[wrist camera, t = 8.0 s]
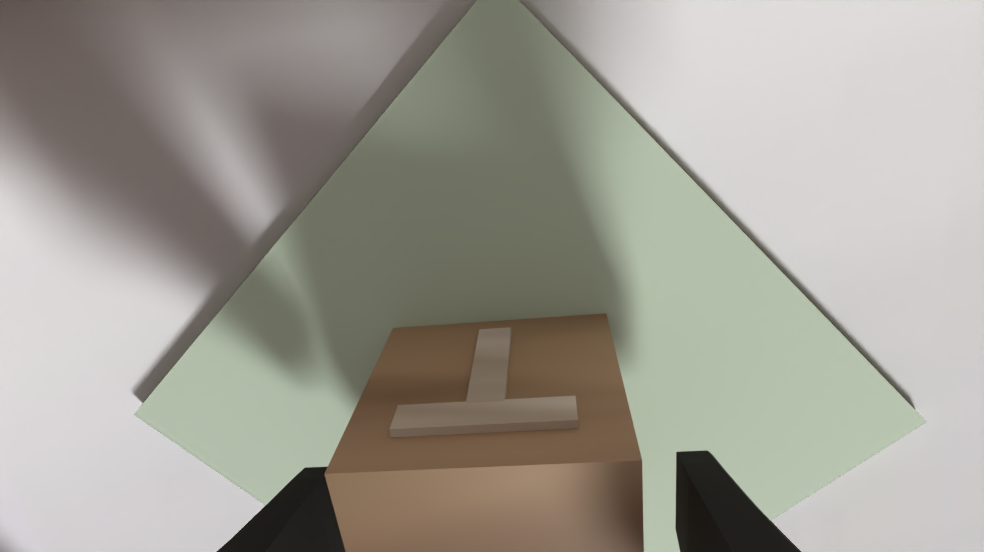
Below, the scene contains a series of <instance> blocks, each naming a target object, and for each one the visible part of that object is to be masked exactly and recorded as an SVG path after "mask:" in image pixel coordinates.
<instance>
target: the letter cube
mask: <svg viewBox="0 0 984 552" xmlns="http://www.w3.org/2000/svg"><path fill="white" fill-rule="evenodd" d="M325 478H326V482H327V485H328V489H329V493H330V496H331V500H332V504H333V507H334V511H335V515H336V518H337V522H338V526H339V529H340V533H341V537H342V540H343V544H344V548H345V551H346V552H644V531H643V476H642V457H641V453H640V449H639V445H638V441H637V437H636V433H635V429H634V425H633V421H632V417H631V412H630V408H629V404H628V400H627V396H626V392H625V388H624V384H623V380H622V376H621V372H620V368H619V363H618V359H617V355H616V351H615V347H614V343H613V339H612V335H611V331H610V327H609V323H608V318H607V314H606V313H604V314H590V315H575V316H560V317H546V318H531V319H517V320H502V321H487V322H473V323H458V324H444V325H429V326H414V327H400V328H393V329H392V331H391V333H390V335H389V337H388V340H387V342H386V344H385V346H384V348H383V350H382V352H381V354H380V357H379V359H378V361H377V363H376V365H375V367H374V369H373V372H372V374H371V376H370V378H369V380H368V382H367V384H366V386H365V389H364V391H363V393H362V395H361V397H360V399H359V401H358V403H357V406H356V408H355V410H354V412H353V414H352V416H351V418H350V420H349V423H348V425H347V427H346V429H345V431H344V433H343V435H342V437H341V440H340V442H339V444H338V446H337V448H336V450H335V452H334V454H333V457H332V459H331V461H330V463H329V465H328V467H327V469H326V471H325Z"/></svg>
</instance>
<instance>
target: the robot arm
mask: <svg viewBox="0 0 984 552" xmlns="http://www.w3.org/2000/svg"><path fill="white" fill-rule="evenodd" d="M326 469H327V467H306V468H304V469H303V470H302V471H301V472H299V473H298V474H297V475H296V476H295V477H294V478H293V479H292V480H291V481H290V482H289V483H288V484H287V485H286V486H285V487H284V488H283V489H282V490H281V491H280V492H279V493H278V494H277V495H276V496H275V497H274V498H273V499H272V500H271V501H270V502H269V503H268V504H267V505H266V506H265V507H264V508H263V509H262V510H261V511H260V512H259V513H258V514H257V515H255V516H254V517H253V518H252V519H251V520H250V521H249V522H248V523H247V524H246V525H245V526H244V527H243V528H242V529H241V530H240V531H239V532H238V533H237V534H236V535H235V536H234V537H233V538H232V539H231V540H229V541H228V542H227V543H226V544H225V545H224V546H223V547H222V548H221V549H219V550H218V551H217V552H346V551H345V548H344V544H343V540H342V537H341V533H340V529H339V526H338V522H337V518H336V515H335V511H334V507H333V504H332V500H331V496H330V493H329V489H328V485H327V482H326V478H325V471H326ZM675 529H676V534H677V539H678V543H679V548H680V552H801V551H800V550H799V549H798V548H797V547H796V546H795V545H794V544H793V543H792V542H791V541H790V540H789V539H788V538H787V537H786V536H785V535H784V534H783V533H782V532H781V531H780V530H779V529H778V528H777V527H776V526H775V525H774V524H773V523H772V522H771V521H770V520H769V518H768V517H767V516H766V515H765V514H764V513H763V512H762V511H761V510H760V509H759V508H758V507H757V506H756V505H755V504H754V502H753V501H752V500H751V499H750V498H749V497H748V496H747V495H746V494H745V492H744V491H743V490H742V489H741V488H740V487H739V486H738V484H737V483H736V482H735V481H734V480H733V479H732V477H731V476H730V475H729V474H728V473H727V472H726V470H725V469H724V468H723V467H722V466H721V464H720V463H719V462H718V461H717V459H716V458H715V457H714V456H713V455H712V454H711V453H710V452H709V451H708V450H704V451H681V452H676V526H675Z"/></svg>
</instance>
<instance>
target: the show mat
mask: <svg viewBox="0 0 984 552" xmlns="http://www.w3.org/2000/svg"><path fill="white" fill-rule="evenodd" d="M604 313H606V314H607V318H608V323H609V327H610V331H611V335H612V339H613V343H614V347H615V351H616V355H617V359H618V363H619V368H620V372H621V376H622V380H623V384H624V388H625V392H626V396H627V400H628V404H629V408H630V412H631V417H632V421H633V425H634V429H635V433H636V437H637V441H638V445H639V449H640V453H641V457H642V476H643V531H644V552H680V548H679V543H678V539H677V534H676V529H675V526H676V452H681V451H704V450H708V451H709V452H710V453H711V454H712V455H713V456H714V457H715V458H716V459H717V461H718V462H719V463H720V464H721V466H722V467H723V468H724V469H725V470H726V472H727V473H728V474H729V475H730V476H731V477H732V479H733V480H734V481H735V482H736V483H737V484H738V486H739V487H740V488H741V489H742V490H743V491H744V492H745V494H746V495H747V496H748V497H749V498H750V499H751V500H752V501H753V502H754V504H755V505H756V506H757V507H758V508H759V509H760V510H761V511H762V512H763V513H764V514H765V515H766V516H767V517H768V518H769V520H770V521H771V520H772V519H774V518H775V517H777V516H779V515H780V514H782V513H783V512H785V511H787V510H788V509H790V508H791V507H793V506H794V505H796V504H798V503H799V502H801V501H802V500H804V499H806V498H807V497H809V496H810V495H812V494H813V493H815V492H817V491H818V490H820V489H821V488H823V487H825V486H826V485H828V484H829V483H831V482H832V481H834V480H836V479H837V478H839V477H840V476H842V475H844V474H845V473H847V472H848V471H850V470H852V469H853V468H855V467H856V466H858V465H859V464H861V463H863V462H864V461H866V460H867V459H869V458H871V457H872V456H874V455H875V454H877V453H878V452H880V451H882V450H883V449H885V448H886V447H888V446H890V445H891V444H893V443H894V442H896V441H897V440H899V439H901V438H902V437H904V436H905V435H907V434H909V433H910V432H912V431H913V430H915V429H917V428H918V427H920V426H921V425H923V424H924V423H926V421H925V419H924V418H923V417H922V416H921V415H920V414H919V413H918V412H917V411H916V410H915V409H914V408H913V407H912V406H911V405H910V404H909V403H908V402H907V401H906V400H905V399H904V398H903V397H902V396H901V395H900V394H899V393H898V392H897V391H896V389H895V388H894V387H893V386H892V385H891V384H890V383H889V382H888V381H887V380H886V379H885V378H884V377H883V376H882V375H881V374H880V373H879V372H878V371H877V370H876V369H875V368H874V367H873V366H872V365H871V364H870V363H869V362H868V361H867V359H866V358H865V357H864V356H863V355H862V354H861V353H860V352H859V351H858V350H857V349H856V348H855V347H854V346H853V345H852V344H851V343H850V342H849V341H848V340H847V339H846V338H845V337H844V336H843V335H842V334H841V333H840V332H839V331H838V330H837V328H836V327H835V326H834V325H833V324H832V323H831V322H830V321H829V320H828V319H827V318H826V317H825V316H824V315H823V314H822V313H821V312H820V311H819V310H818V309H817V308H816V307H815V306H814V305H813V304H812V303H811V302H810V301H809V300H808V298H807V297H806V296H805V295H804V294H803V293H802V292H801V291H800V290H799V289H798V288H797V287H796V286H795V285H794V284H793V283H792V282H791V281H790V280H789V279H788V278H787V277H786V276H785V275H784V274H783V273H782V272H781V271H780V270H779V268H778V267H777V266H776V265H775V264H774V263H773V262H772V261H771V260H770V259H769V258H768V257H767V256H766V255H765V254H764V253H763V252H762V251H761V250H760V249H759V248H758V247H757V246H756V245H755V244H754V243H753V242H752V241H751V240H750V238H749V237H748V236H747V235H746V234H745V233H744V232H743V231H742V230H741V229H740V228H739V227H738V226H737V225H736V224H735V223H734V222H733V221H732V220H731V219H730V218H729V217H728V216H727V215H726V214H725V213H724V212H723V211H722V210H721V208H720V207H719V206H718V205H717V204H716V203H715V202H714V201H713V200H712V199H711V198H710V197H709V196H708V195H707V194H706V193H705V192H704V191H703V190H702V189H701V188H700V187H699V186H698V185H697V184H696V183H695V182H694V181H693V180H692V178H691V177H690V176H689V175H688V174H687V173H686V172H685V171H684V170H683V169H682V168H681V167H680V166H679V165H678V164H677V163H676V162H675V161H674V160H673V159H672V158H671V157H670V156H669V155H668V154H667V153H666V152H665V151H664V150H663V148H662V147H661V146H660V145H659V144H658V143H657V142H656V141H655V140H654V139H653V138H652V137H651V136H650V135H649V134H648V133H647V132H646V131H645V130H644V129H643V128H642V127H641V126H640V125H639V124H638V123H637V122H636V121H635V120H634V118H633V117H632V116H631V115H630V114H629V113H628V112H627V111H626V110H625V109H624V108H623V107H622V106H621V105H620V104H619V103H618V102H617V101H616V100H615V99H614V98H613V97H612V96H611V95H610V94H609V93H608V92H607V91H606V90H605V88H604V87H603V86H602V85H601V84H600V83H599V82H598V81H597V80H596V79H595V78H594V77H593V76H592V75H591V74H590V73H589V72H588V71H587V70H586V69H585V68H584V67H583V66H582V65H581V64H580V63H579V62H578V61H577V60H576V58H575V57H574V56H573V55H572V54H571V53H570V52H569V51H568V50H567V49H566V48H565V47H564V46H563V45H562V44H561V43H560V42H559V41H558V40H557V39H556V38H555V37H554V36H553V35H552V34H551V33H550V32H549V31H548V30H547V28H546V27H545V26H544V25H543V24H542V23H541V22H540V21H539V20H538V19H537V18H536V17H535V16H534V15H533V14H532V13H531V12H530V11H529V10H528V9H527V8H526V7H525V6H524V5H523V4H522V3H521V2H520V1H519V0H477V1H476V2H475V3H474V4H473V5H472V7H471V8H470V9H469V10H468V11H467V13H466V14H465V15H464V16H463V17H462V19H461V20H460V21H459V22H458V23H457V25H456V26H455V27H454V28H453V30H452V31H451V32H450V33H449V34H448V36H447V37H446V38H445V39H444V40H443V42H442V43H441V44H440V45H439V46H438V48H437V49H436V50H435V51H434V52H433V54H432V55H431V56H430V57H429V58H428V60H427V61H426V62H425V63H424V65H423V66H422V67H421V68H420V69H419V71H418V72H417V73H416V74H415V75H414V77H413V78H412V79H411V80H410V81H409V83H408V84H407V85H406V86H405V87H404V89H403V90H402V91H401V92H400V94H399V95H398V96H397V97H396V98H395V100H394V101H393V102H392V103H391V104H390V106H389V107H388V108H387V109H386V110H385V112H384V113H383V114H382V115H381V116H380V118H379V119H378V120H377V121H376V123H375V124H374V125H373V126H372V127H371V129H370V130H369V131H368V132H367V133H366V135H365V136H364V137H363V138H362V139H361V141H360V142H359V143H358V144H357V145H356V147H355V148H354V149H353V150H352V152H351V153H350V154H349V155H348V156H347V158H346V159H345V160H344V161H343V162H342V164H341V165H340V166H339V167H338V168H337V170H336V171H335V172H334V173H333V174H332V176H331V177H330V178H329V179H328V180H327V182H326V183H325V184H324V185H323V187H322V188H321V189H320V190H319V191H318V193H317V194H316V195H315V196H314V197H313V199H312V200H311V201H310V202H309V203H308V205H307V206H306V207H305V208H304V209H303V211H302V212H301V213H300V214H299V216H298V217H297V218H296V219H295V220H294V222H293V223H292V224H291V225H290V226H289V228H288V229H287V230H286V231H285V232H284V234H283V235H282V236H281V237H280V238H279V240H278V241H277V242H276V243H275V245H274V246H273V247H272V248H271V249H270V251H269V252H268V253H267V254H266V255H265V257H264V258H263V259H262V260H261V261H260V263H259V264H258V265H257V266H256V267H255V269H254V270H253V271H252V272H251V273H250V275H249V276H248V277H247V278H246V280H245V281H244V282H243V283H242V284H241V286H240V287H239V288H238V289H237V290H236V292H235V293H234V294H233V295H232V296H231V298H230V299H229V300H228V301H227V302H226V304H225V305H224V306H223V307H222V309H221V310H220V311H219V312H218V313H217V315H216V316H215V317H214V318H213V319H212V321H211V322H210V323H209V324H208V325H207V327H206V328H205V329H204V330H203V331H202V333H201V334H200V335H199V336H198V338H197V339H196V340H195V341H194V342H193V344H192V345H191V346H190V347H189V348H188V350H187V351H186V352H185V353H184V354H183V356H182V357H181V358H180V359H179V360H178V362H177V363H176V364H175V365H174V367H173V368H172V369H171V370H170V371H169V373H168V374H167V375H166V376H165V377H164V379H163V380H162V381H161V382H160V383H159V385H158V386H157V387H156V388H155V389H154V391H153V392H152V393H151V394H150V395H149V397H148V398H147V399H146V400H145V402H144V403H143V404H142V405H141V406H140V408H139V409H138V410H137V411H136V412H135V414H134V415H135V416H137V417H138V418H140V419H141V420H142V421H144V422H145V423H147V424H148V425H150V426H151V427H153V428H154V429H156V430H157V431H158V432H160V433H161V434H163V435H164V436H166V437H167V438H169V439H170V440H171V441H173V442H174V443H176V444H177V445H179V446H180V447H182V448H183V449H185V450H186V451H187V452H189V453H190V454H192V455H193V456H195V457H196V458H198V459H199V460H200V461H202V462H203V463H205V464H206V465H208V466H209V467H211V468H212V469H214V470H215V471H216V472H218V473H219V474H221V475H222V476H224V477H225V478H227V479H228V480H229V481H231V482H232V483H234V484H235V485H237V486H238V487H240V488H241V489H243V490H244V491H245V492H247V493H248V494H250V495H251V496H253V497H254V498H256V499H257V500H258V501H260V502H261V503H263V504H264V505H267V504H268V503H269V502H270V501H271V500H272V499H273V498H274V497H275V496H276V495H277V494H278V493H279V492H280V491H281V490H282V489H283V488H284V487H285V486H286V485H287V484H288V483H289V482H290V481H291V480H292V479H293V478H294V477H295V476H296V475H297V474H298V473H299V472H301V471H302V470H303V469H304V468H306V467H328V465H329V463H330V461H331V459H332V457H333V454H334V452H335V450H336V448H337V446H338V444H339V442H340V440H341V437H342V435H343V433H344V431H345V429H346V427H347V425H348V423H349V420H350V418H351V416H352V414H353V412H354V410H355V408H356V406H357V403H358V401H359V399H360V397H361V395H362V393H363V391H364V389H365V386H366V384H367V382H368V380H369V378H370V376H371V374H372V372H373V369H374V367H375V365H376V363H377V361H378V359H379V357H380V354H381V352H382V350H383V348H384V346H385V344H386V342H387V340H388V337H389V335H390V333H391V331H392V329H393V328H400V327H414V326H429V325H444V324H458V323H473V322H487V321H502V320H517V319H531V318H546V317H560V316H575V315H590V314H604Z"/></svg>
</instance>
